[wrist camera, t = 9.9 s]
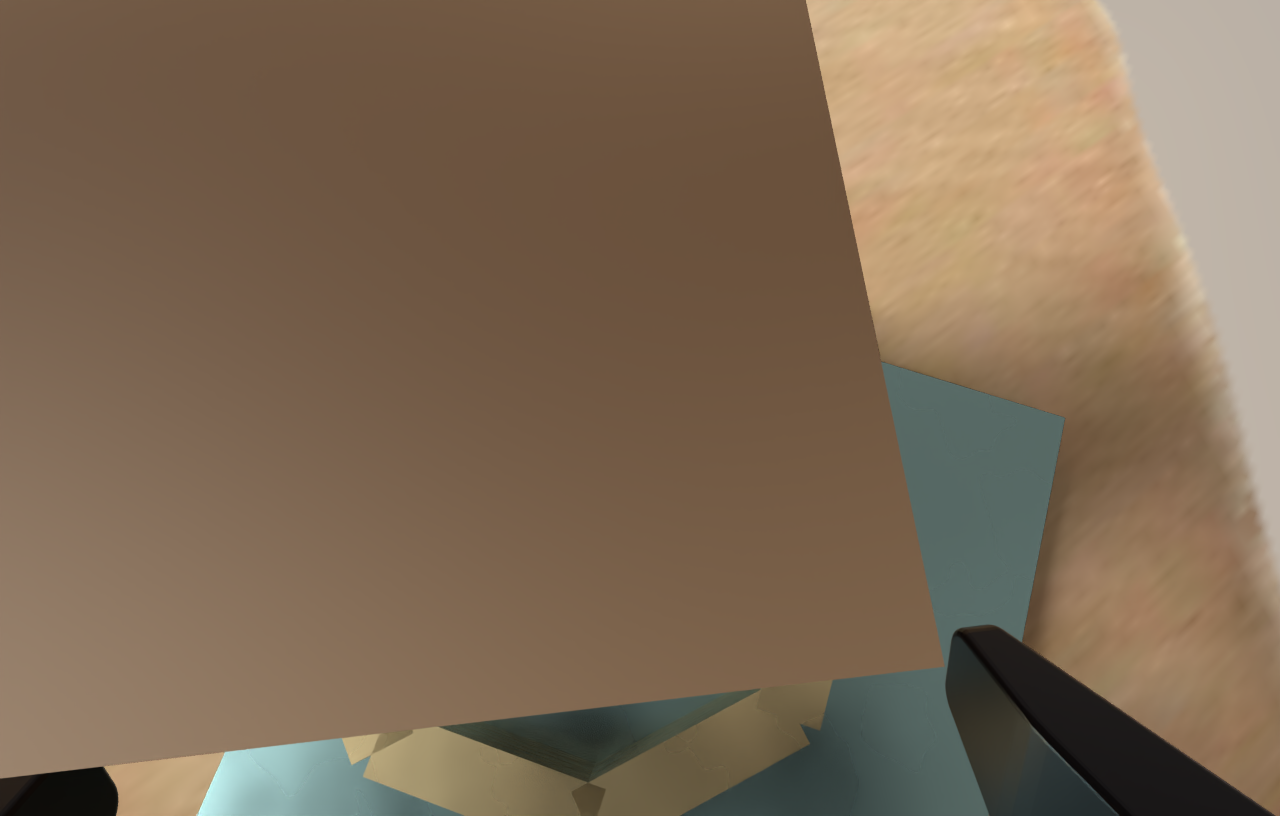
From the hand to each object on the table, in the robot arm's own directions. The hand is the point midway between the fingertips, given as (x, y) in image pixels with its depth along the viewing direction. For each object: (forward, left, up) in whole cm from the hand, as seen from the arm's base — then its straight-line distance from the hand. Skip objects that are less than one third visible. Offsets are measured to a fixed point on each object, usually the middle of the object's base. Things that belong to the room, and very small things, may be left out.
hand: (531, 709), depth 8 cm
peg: (+3, +1, -8) cm, 9 cm away
